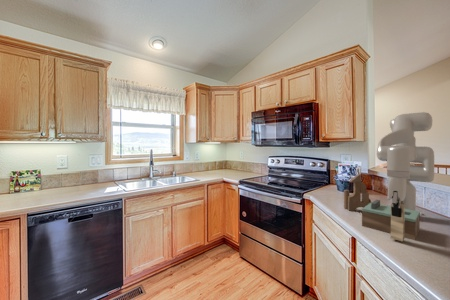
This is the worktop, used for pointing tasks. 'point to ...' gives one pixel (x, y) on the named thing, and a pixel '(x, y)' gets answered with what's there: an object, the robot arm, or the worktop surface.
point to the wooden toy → (356, 195)
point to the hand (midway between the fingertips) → (397, 214)
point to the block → (398, 224)
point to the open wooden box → (389, 224)
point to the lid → (389, 211)
